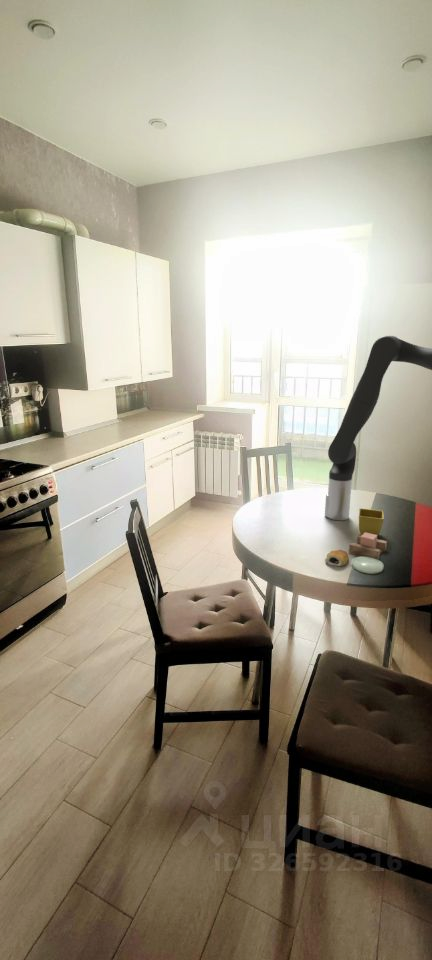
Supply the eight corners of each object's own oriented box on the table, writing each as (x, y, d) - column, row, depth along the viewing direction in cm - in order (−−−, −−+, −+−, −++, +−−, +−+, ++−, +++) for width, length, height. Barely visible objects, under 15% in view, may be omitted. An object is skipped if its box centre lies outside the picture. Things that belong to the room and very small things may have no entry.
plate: (347, 567, 145) (347, 565, 145) (357, 556, 153) (357, 553, 153) (377, 576, 140) (378, 574, 139) (387, 564, 147) (387, 561, 147)
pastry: (333, 553, 156) (334, 543, 155) (352, 558, 152) (353, 548, 151) (323, 563, 149) (324, 553, 148) (343, 569, 145) (344, 558, 144)
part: (359, 552, 156) (360, 536, 155) (363, 547, 160) (364, 532, 158) (371, 555, 154) (373, 539, 152) (375, 550, 157) (377, 535, 155)
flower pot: (381, 532, 172) (383, 510, 170) (381, 541, 164) (383, 518, 162) (357, 529, 175) (359, 508, 172) (356, 538, 167) (358, 516, 165)
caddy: (348, 552, 156) (349, 544, 155) (358, 542, 163) (359, 534, 162) (377, 560, 150) (378, 551, 149) (386, 549, 158) (387, 541, 157)
